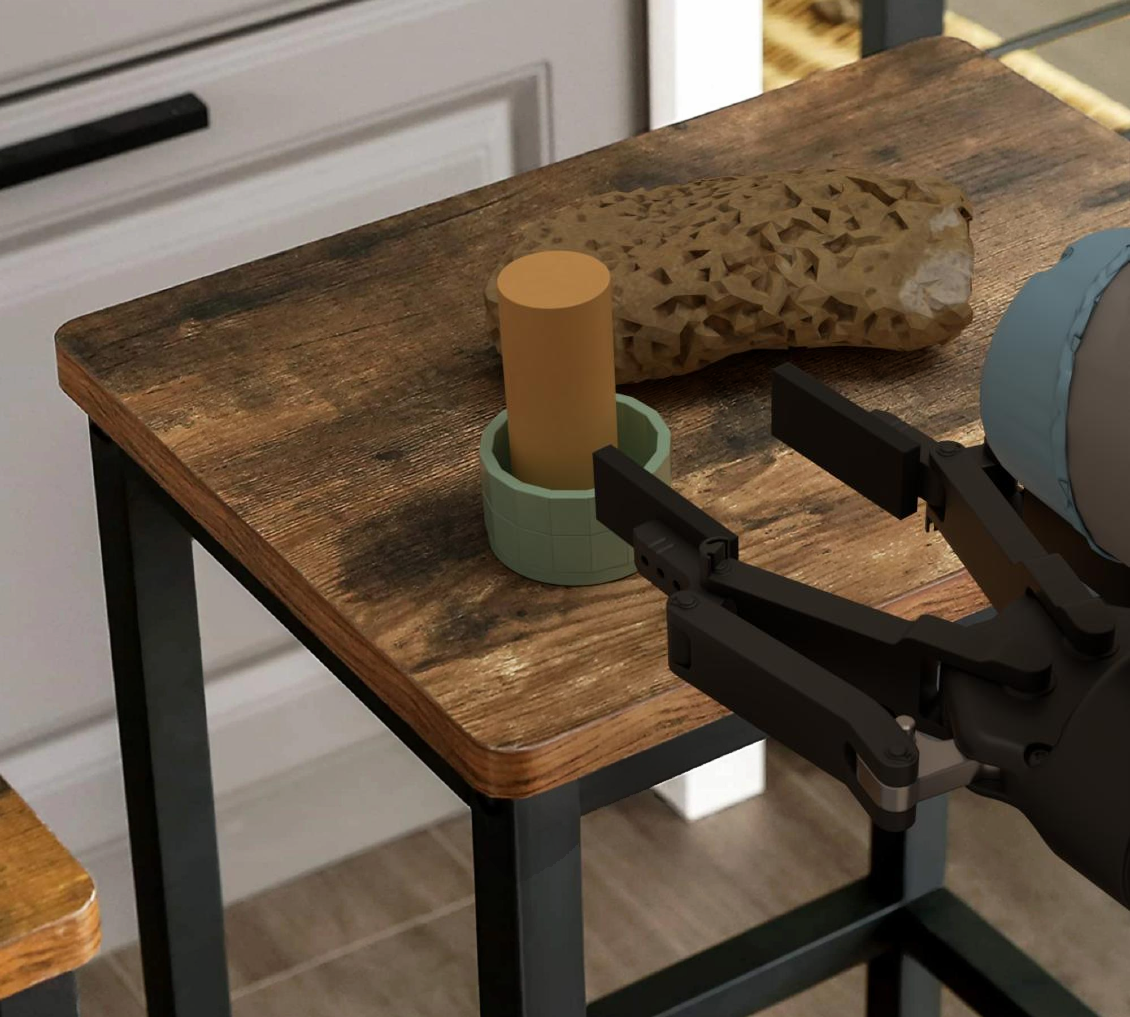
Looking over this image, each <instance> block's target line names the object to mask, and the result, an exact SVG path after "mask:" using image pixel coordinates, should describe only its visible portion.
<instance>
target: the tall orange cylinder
mask: <svg viewBox="0 0 1130 1017" xmlns="http://www.w3.org/2000/svg"><path fill="white" fill-rule="evenodd" d="M497 294H498V306H499V319H500V331H501V344H502V355H501V356H502V366H503V367H502V368H503V380H504V394H505V404H506V405H505V406H506V409H507V419H508V431H509V444H510V456H511V469H512V476H513V477H515V478H516V479H518V480H519V481H521V482H522V483H526V484H530V485H534V486H538V487H542V488H546V489H550V490H589V489H593V488H594V473H593V456H592V453H593V452H595V451H597V450H599V449H601V448H603V447H606V446H608V445H610V444H611V445H613V446H614V447H616V448H617V449H618V438H617V415H616V393H617V392H616V385H615V370H614V347H613V324H612V301H611V279H610V273H609V270H608V269H607V267H606V266H605V265H604V264H603V263H602V262H600V261H599V260H597V259H596V258H594V257H591V256H589V255H586V254H582V253H578V252H571V251H546V252H539V253H534V254H530V255H527V256H524V257H521V258H519V259H517V260H515V261H513V262H511V263H510V264H508V265H507V266H506V267H505V268H504V269H503V270H502V271H501V272H500V274H499V276H498V278H497Z"/></svg>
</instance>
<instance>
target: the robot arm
mask: <svg viewBox="0 0 1130 1017" xmlns="http://www.w3.org/2000/svg"><path fill="white" fill-rule="evenodd" d="M770 380H771V381H770V382H771V383H770V386H771V388H770V390H771V392H770V393H771V396H770V398H771V399H770V400H771V403H770V406H771V408H770V409H771V410H770V411H771V412H770V425H771V426H770V435H771V436H772V437H774V438H775V439H777V440H778V441H779V442H781V443H782V444H784V445H786V446H787V447H788V448H790V449H792V450H793V451H794V452H796V453H797V454H799V455H801V456H802V457H804V458H806V459H807V460H808V461H810V462H811V463H813V464H814V465H816V466H817V467H819V468H820V469H822V470H824V471H825V472H826V473H827V474H829V475H830V476H832V477H834V478H835V479H836V480H838V481H840V482H842V483H843V484H845V485H846V486H848V488H850V489H851V490H853V491H855V492H857V493H858V494H859V495H860V496H863V497H864V498H865V499H867V500H868V501H870V502H871V503H873V504H874V505H876V506H878V507H879V508H881V509H882V510H883V511H885V512H887V513H888V514H890V515H891V516H893V517H894V518H896V519H897V520H898V521H903V520H904V519H905V520H906V518H908V517H910V516H912V515H914V514H916V513H918V508H919V506H918V505H919V498H920V499H921V500H922V501H924V502H926V503H925V515H924V516H925V519H924V530H925V533H926V534H928V533H930V530H931V525H932V524H933V532H937V531H938V532H939V533H940V535H941V537H943V539H944V540H945V542H946V543H947V544H948V545H949V547H950V548H951V550H952V551H953V553H954V554H955V555H956V557H957V559H958V560H959V561H960V562H961V564H962V565H963V566H964V568H965V569H966V571H967V572H968V574H969V575H970V576H971V578H972V579H973V581H974V582H975V583H976V585H977V586H978V588H979V590H980V591H981V592H982V593H983V595H984V596H985V598H986V599H987V600H988V601H989V603H990V605H991V606H992V607H993V609H994V610H995V611H996V613H997V614H995V615H994V616H993V618H990V619H988V620H984V621H980V622H977V623H973V624H970V625H967V626H964V625H962V624H959V623H957V622H954V621H951V620H947V619H944V618H942V617H939V616H936V615H933V614H929V613H926V614H921V615H919V617H917V619H915V620H909V619H906V618H903V617H900V616H897V615H894V614H892V613H888V612H886V611H883V610H881V609H877V608H874V607H871V606H869V605H866V604H863V603H860V602H857V601H855V600H852V599H849V598H846V597H844V596H840V595H837V594H835V593H832V592H829V591H826V590H823V589H821V588H818V587H815V586H812V585H809V584H806V583H805V582H804V583H803V582H801V581H798V580H795V579H792V578H789V577H787V576H784V575H780V574H778V573H775V572H772V571H769V570H767V569H764V568H761V567H758V566H755V565H752V564H750V563H747V562H743V561H741V560H740V548H739V547H740V544H739V542H740V541H739V540H740V538H739V537H740V536H739V535H737V534H736V533H734V532H733V531H732V530H730V529H729V528H727V527H726V526H725V525H723V524H722V523H721V522H719V521H718V520H716V519H715V518H714V517H712V516H711V515H709V513H707V512H705V511H704V510H702V509H701V508H700V507H699V506H697V505H696V504H694V503H693V502H691V501H690V500H689V499H688V498H686V497H685V496H683V495H682V494H681V493H679V492H678V491H676V490H675V489H674V488H673V487H672V488H671V487H669V486H668V485H667V484H665V483H664V482H663V481H661V480H660V479H658V478H657V477H656V476H654V475H653V474H651V473H650V472H649V471H647V470H646V469H645V468H643V467H642V466H640V465H639V464H638V463H636V462H635V461H634V460H632V459H631V458H629V457H628V456H627V455H625V454H624V453H622V452H621V451H620V450H618V449H617V448H616V447H614V446H613V445H611V444H610V445H608V446H606V447H603V448H601V449H599V450H597V451H595V452H593V453H592V456H593V473H594V491H595V508H596V520H598V521H599V522H600V523H602V524H603V525H604V526H606V527H607V528H608V529H609V530H611V531H612V532H613V533H615V534H616V535H617V536H619V537H620V538H621V539H622V540H624V541H625V542H626V543H628V544H629V545H630V546H632V547H633V548H634V564H635V566H636V568H637V570H638V571H637V573H638V574H639V576H641V577H643V578H644V579H645V580H646V581H648V582H650V584H651V585H653V586H654V588H657V589H658V590H659V591H661V592H662V593H663V594H664V595H665V596H667V597H668V598H667V600H666V602H665V612H666V638H667V639H666V640H667V666H668V669H669V671H670V672H671V673H672V674H674V675H675V676H676V677H678V678H679V679H681V680H682V681H684V682H685V683H686V684H689V685H690V686H692V687H693V688H695V689H696V690H698V691H699V692H701V693H702V694H704V695H705V696H707V697H709V698H710V699H712V700H713V701H715V702H717V704H720V705H721V706H722V707H724V708H725V709H727V710H728V711H730V712H732V713H733V714H735V715H737V716H738V717H740V718H741V719H743V720H744V721H746V722H747V723H749V724H750V725H752V726H754V727H755V728H757V729H758V730H760V731H761V732H762V733H764V734H766V735H768V736H769V737H771V738H772V739H773V740H775V741H777V742H778V743H780V744H781V745H782V746H784V747H786V748H787V749H788V750H790V751H792V752H793V753H795V754H796V755H798V756H800V757H801V758H803V759H805V760H806V761H807V762H809V763H811V764H812V765H814V766H816V767H817V768H818V769H820V770H822V771H823V772H825V773H826V774H828V775H829V776H830V777H832V778H834V779H835V780H837V781H839V782H840V783H841V784H843V785H844V786H846V787H847V789H848V790H849V791H850V793H851V794H852V796H853V797H854V798H855V799H856V801H857V802H858V803H859V804H860V806H861V807H862V809H863V810H864V811H865V813H866V814H867V815H868V817H869V818H870V819H871V820H872V822H873V824H875V825H876V826H877V827H878V828H880V829H881V830H883V831H886V832H890V833H900V832H906V831H907V830H909V829H911V828H912V827H913V826H914V825H915V823H916V819H917V804H918V803H921V802H923V801H927V800H929V799H933V798H935V797H938V796H940V795H943V794H947V793H949V792H953V791H955V790H957V789H961V788H963V787H964V788H965V789H967V791H969V792H971V793H973V794H975V795H977V796H980V797H982V798H983V797H984V798H987V799H991V800H995V801H998V802H1001V803H1004V804H1006V805H1008V806H1010V807H1012V808H1014V809H1017V810H1018V811H1020V813H1022V814H1023V815H1024V817H1025V818H1026V819H1027V820H1028V822H1030V824H1031V825H1032V826H1033V828H1034V830H1036V832H1037V834H1038V835H1039V836H1040V838H1041V839H1042V840H1043V842H1044V843H1045V844H1046V846H1047V847H1048V849H1049V850H1050V851H1051V852H1052V853H1053V854H1054V855H1055V856H1056V857H1058V859H1060V860H1061V861H1063V862H1064V863H1065V864H1067V865H1068V866H1069V867H1070V868H1072V869H1073V870H1075V871H1076V872H1077V873H1079V874H1080V875H1081V876H1082V877H1084V878H1085V879H1086V880H1088V881H1089V882H1090V883H1091V884H1093V885H1094V886H1096V888H1098V889H1100V890H1101V891H1102V892H1103V893H1104V894H1106V895H1108V896H1109V897H1110V898H1111V899H1113V900H1114V901H1115V902H1117V903H1118V904H1120V905H1121V906H1122V907H1123V908H1125V909H1126V910H1127V911H1129V912H1130V226H1129V227H1127V226H1124V227H1112V228H1106V229H1102V230H1099V231H1097V232H1093V233H1090V234H1087V235H1084V236H1083V237H1081V238H1079V239H1077V240H1075V241H1073V242H1072V243H1069V244H1068V245H1067V246H1066V247H1065V248H1064V250H1063V251H1062V253H1061V256H1060V258H1059V260H1058V262H1057V263H1056V264H1054V266H1052V267H1051V268H1049V269H1048V270H1046V271H1044V272H1034V273H1033V274H1032V275H1031V276H1030V277H1029V278H1028V279H1027V280H1026V281H1025V283H1024V284H1023V285H1022V286H1021V287H1020V289H1019V290H1018V292H1017V293H1016V294H1015V295H1014V297H1013V298H1012V300H1011V301H1010V303H1009V304H1008V306H1007V307H1006V308H1005V311H1004V313H1003V314H1002V316H1001V317H1000V319H999V322H998V324H997V325H996V328H995V330H994V332H993V334H992V337H991V340H990V342H989V346H988V348H987V351H986V355H985V358H984V362H983V365H982V370H981V375H980V382H979V397H978V398H979V402H978V403H979V414H980V419H981V423H982V424H981V425H982V429H983V432H984V436H983V443H980V444H976V445H972V446H965V445H963V443H961V442H958V441H955V440H949V439H948V440H946V439H945V440H939V441H937V440H936V439H934V438H932V437H931V436H929V435H928V434H926V433H924V432H922V431H921V430H919V429H918V428H916V427H914V426H911V424H910V423H908V422H906V421H905V420H903V419H901V418H900V417H898V416H897V415H895V414H894V413H892V412H890V411H885V410H882V409H878V408H874V409H873V410H871V411H868V410H867V409H865V408H863V407H862V406H861V405H859V404H857V403H855V402H853V401H852V400H851V399H849V398H847V397H846V396H844V395H843V394H840V393H839V392H838V391H836V390H835V389H833V388H832V387H830V386H829V385H826V384H825V383H823V382H822V381H820V380H818V379H817V378H815V377H813V376H812V375H811V374H809V373H807V372H806V371H804V370H802V369H801V368H799V367H798V366H796V365H794V364H793V363H791V362H790V361H786V362H784V363H782V364H780V365H778V366H776V367H774V368H771V377H770ZM1019 484H1020V485H1021V486H1022V487H1021V486H1020V485H1019ZM1086 586H1087V587H1086ZM1088 588H1089V589H1090V590H1092V591H1093V592H1094V593H1095V594H1097V595H1098V596H1099V597H1098V596H1094V595H1093V594H1092V593H1091V592H1090V591H1089V589H1088ZM1103 600H1104V601H1106V602H1107V603H1108V604H1107V603H1105V602H1104V601H1103ZM939 663H940V665H939ZM938 673H939V674H938ZM938 675H939V676H938ZM885 707H887V708H889V709H890V710H891V711H892V712H893V713H894V715H895V717H894V716H893V715H892V714H890V712H889V711H888V710H887V709H886V708H885ZM925 735H927V736H929V737H927V736H925ZM930 737H932V738H933V739H932V738H930ZM934 738H935V739H934Z"/></svg>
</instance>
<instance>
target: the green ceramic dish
mask: <svg viewBox="0 0 1130 1017" xmlns="http://www.w3.org/2000/svg"><path fill="white" fill-rule="evenodd" d="M615 393H616V415H617V438H618V450H620V451H621V452H622V453H624V454H625V455H627V456H628V457H629V458H631V459H632V460H634V461H635V462H636V463H638V464H639V465H640V466H642V467H643V468H645V469H646V470H647V471H649V472H650V473H651V474H653V475H654V476H656V477H657V478H658V479H660V480H661V481H663V482H664V483H665V484H667V485H668V486H669V487H671V488H672V489H673V456H672V455H673V454H672V453H673V452H672V432H671V430H670V428H669V426H668V425H667V424H666V421H665V420H664V419H663V417H662V416H661V414H659V412H658V411H657V410H655V409H654V408H652V407H650V406H648V405H647V404H646V403H644V402H641V401H640V400H638V399H636V398H634V397H632V396H629V395H625V394H621V393H617V392H615ZM478 462H479V472H480V473H479V474H480V482H481V484H480V485H481V494H482V506H483V516H484V517H483V518H484V526H485V528H486V532H487V540H488V544H489V546H490V549H491V551H492V552H493V554H494V555H495V557H496V558H497V559H498V560H499V561H500V562H501V563H502V564H503V565H505V566H506V567H507V568H508V569H510V570H511V571H513V572H515V573H516V574H518V575H521V576H523V577H525V578H528V579H531V580H534V581H537V582H540V583H544V584H550V585H558V586H575V587H577V586H591V585H600V584H604V583H609V582H614V581H617V580H620V579H623V578H625V577H628V576H630V575H633V574H635V573H638V570H637V568H636V566H635V564H634V548H633V547H632V546H630V545H629V544H628V543H626V542H625V541H624V540H622V539H621V538H620V537H619V536H617V535H616V534H615V533H613V532H612V531H611V530H609V529H608V528H607V527H606V526H604V525H603V524H602V523H600V522H599V521H598V520H596V508H595V491H594V488H593V489H589V490H550V489H546V488H542V487H538V486H534V485H530V484H526V483H522V482H521V481H519V480H518V479H516V478H515V477H513V476H512V469H511V456H510V444H509V431H508V419H507V408H505V409H503V410H501V411H500V412H499V413H498V414H497V415H496V416H495V417H494V418H493V419H492V420H491V421H490V423H489V424H488V425H487V426H486V427H485V428H484V429H483V431H482V432H481V437H480V443H479V449H478Z"/></svg>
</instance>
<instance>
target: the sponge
mask: <svg viewBox="0 0 1130 1017" xmlns="http://www.w3.org/2000/svg"><path fill="white" fill-rule="evenodd" d="M973 206H974V205H973V202H972V201H971V199H970V197H969V196H968V195H967V193H966V191H965V190H964V188H962V187H961V186H958V185H956V184H954V183H952V182H950V181H947V180H945V179H944V178H941V177H939V176H937V175H924V176H923V175H922V176H917V175H913V176H909V177H907V178H906V177H898V176H892V175H890V174H887V173H878V172H876V171H875V170H873V169H862V168H857V167H851V166H849V167H848V166H847V167H845V166H841V167H833V168H828V167H826V168H821V167H810V168H809V167H808V168H801V169H800V168H799V169H789V170H786V169H785V170H784V169H766V170H760V171H753V172H752V173H749V174H746V175H745V174H740V173H738V174H737V173H736V174H730V175H722V176H709V177H704V178H698V179H692V180H689V181H688V182H684V183H678V184H677V183H675V184H667V185H659V186H658V187H656V188H653V189H651V190H647V189H645V188H644V187H643V186H641V187H639V188H636V189H634V190H633V191H630V192H624V191H623V192H622V191H616V190H613V191H610V192H606V193H602V194H598V195H595V196H592V197H589V198H587V199H584V200H581V201H579V202H576V203H574V204H570V205H569V206H567V207H566V208H565V209H563V210H562V211H560V212H559V213H554V214H551V215H546V216H545V217H541V218H540V219H538V220H536V221H535V222H533V223H531V224H530V225H528V226H526V227H524V228H523V229H522V238H521V241H520V243H518V244H516V245H515V246H514V245H508V248H507V249H506V250H505V253H504V254H503V256H502V257H501V259H500V260H499V262H498V265H497V267H496V268H495V270H494V271H493V273H492V274H491V276H490V277H489V279H488V280H487V283H486V284H485V286H484V289H482V298H483V303H484V306H485V311H486V312H485V318H484V319H485V320H484V327H483V331H484V332H485V334H486V335H487V336H488V338H489V339H490V340H491V341H492V344H494V347H495V349H496V351H497V353H498V354H499V355H500V356H502V344H501V331H500V319H499V306H498V294H497V278H498V276H499V274H500V272H501V271H502V270H503V269H504V268H505V267H506V266H507V265H508V264H510V263H511V262H513V261H515V260H517V259H519V258H521V257H524V256H527V255H530V254H534V253H539V252H546V251H571V252H578V253H582V254H586V255H589V256H591V257H594V258H596V259H597V260H599V261H600V262H602V263H603V264H604V265H605V266H606V267H607V269H608V270H609V273H610V279H611V301H612V324H613V347H614V370H615V386H618V385H625V384H626V385H627V384H638V383H641V382H644V381H646V380H659V379H665V378H668V377H671V376H677V377H680V376H684V375H687V374H690V373H693V372H696V371H701V370H702V369H704V368H705V367H707V366H709V365H710V364H715V363H716V362H718V361H720V360H722V359H725V358H727V357H729V356H731V355H735V354H741V353H745V352H747V351H751V350H789V347H790V346H791V347H793V348H797V347H799V348H800V347H807V349H814V348H822V347H842V346H843V347H862V348H865V347H866V348H879V349H885V350H891V351H892V350H893V351H897V352H912V351H914V350H915V351H916V350H918V349H922V348H926V347H929V346H933V345H936V344H939V345H940V346H941V347H945V346H946V345H948V344H949V343H951V342H952V341H954V340H955V339H957V338H958V337H959V336H960V335H961V333H962V332H963V330H965V329H966V328H967V327H968V326H969V325H970V324H971V323H972V322H974V309H973V308H972V306H971V305H970V303H969V302H968V301H969V300H970V298H971V296H972V292H973V282H972V281H973V280H972V277H973V276H974V274H975V257H976V256H975V248H974V243H973V240H972V238H971V235H970V234H971V233H970V232H971V230H970V222H971V221H973V220H974V207H973Z"/></svg>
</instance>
